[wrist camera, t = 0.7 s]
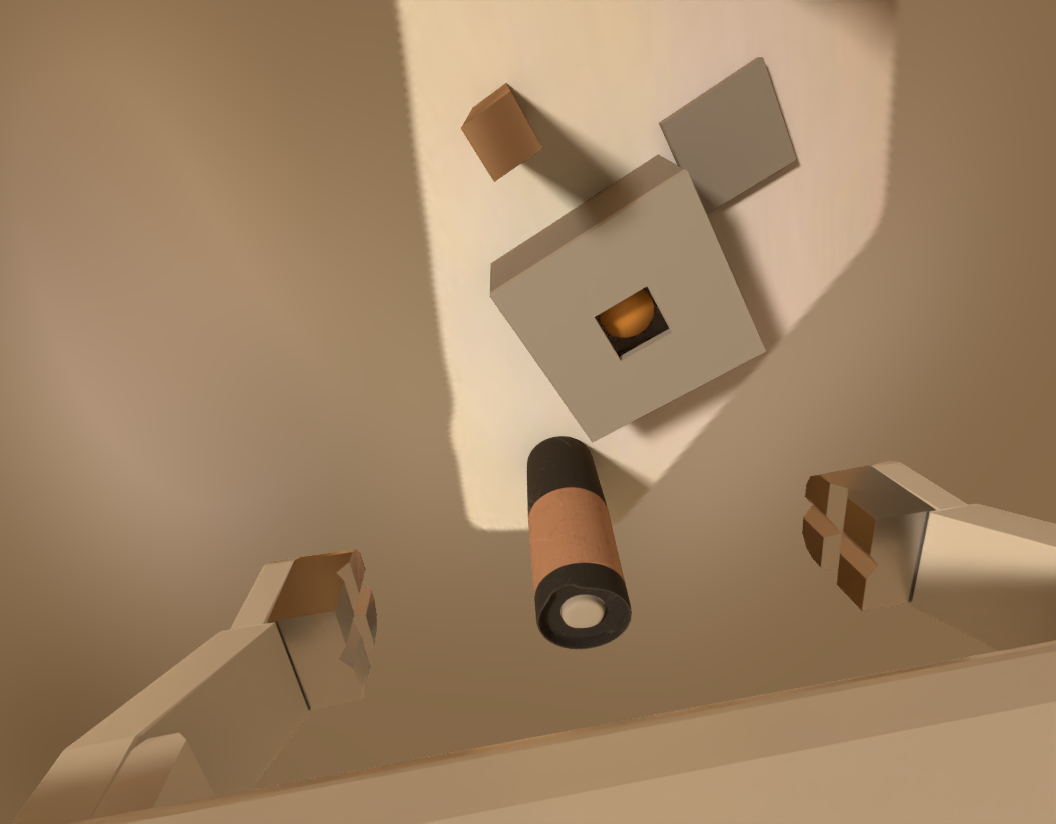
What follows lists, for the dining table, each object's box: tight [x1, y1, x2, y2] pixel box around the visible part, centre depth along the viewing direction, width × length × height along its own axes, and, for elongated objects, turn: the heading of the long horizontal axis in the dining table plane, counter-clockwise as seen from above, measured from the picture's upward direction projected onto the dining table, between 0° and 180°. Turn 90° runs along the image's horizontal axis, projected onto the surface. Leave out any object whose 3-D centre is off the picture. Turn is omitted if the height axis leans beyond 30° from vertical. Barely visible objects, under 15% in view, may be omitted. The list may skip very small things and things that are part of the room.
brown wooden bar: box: [461, 83, 542, 182], centre depth 35 cm, size 3×3×16 cm
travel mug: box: [527, 436, 632, 649], centre depth 51 cm, size 8×8×20 cm
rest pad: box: [659, 57, 797, 214], centre depth 43 cm, size 8×8×1 cm
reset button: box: [599, 288, 654, 338], centre depth 46 cm, size 4×4×2 cm
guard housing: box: [490, 155, 766, 442], centre depth 46 cm, size 16×16×8 cm
